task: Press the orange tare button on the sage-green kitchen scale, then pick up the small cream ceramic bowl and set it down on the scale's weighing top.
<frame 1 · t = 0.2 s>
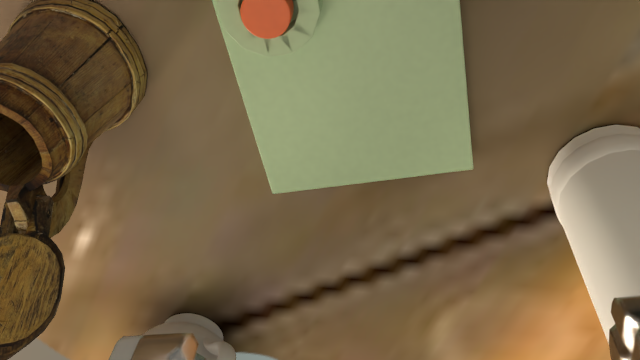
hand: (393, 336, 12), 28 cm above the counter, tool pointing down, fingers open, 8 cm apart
bottle: (603, 170, 42), on the counter
tare button: (267, 10, 33), point 4 cm above the counter, slide at 0.2 cm
scale: (350, 63, 38), on the counter
teacup: (202, 324, 55), on the counter
wooden mug: (93, 90, 41), on the counter
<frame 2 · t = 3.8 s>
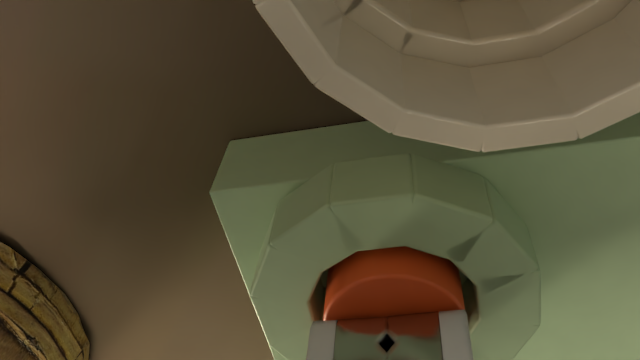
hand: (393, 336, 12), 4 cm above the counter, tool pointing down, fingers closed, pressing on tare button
tare button: (393, 302, 12), point 3 cm above the counter, slide at -0.4 cm, touching gripper
scale: (539, 341, 17), on the counter
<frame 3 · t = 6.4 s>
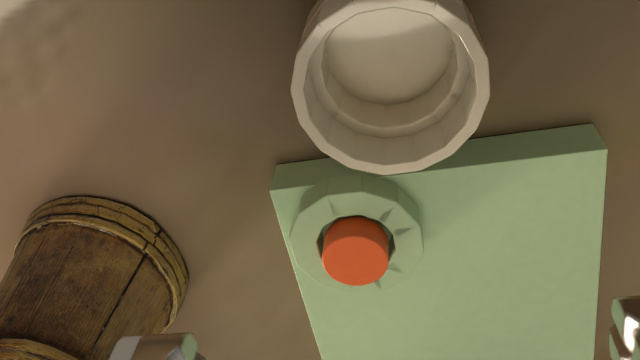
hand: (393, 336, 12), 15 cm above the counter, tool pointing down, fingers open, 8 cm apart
bowl: (388, 43, 24), on the counter
tare button: (355, 251, 25), point 4 cm above the counter, slide at 0.2 cm
scale: (443, 274, 31), on the counter
wooden mug: (121, 288, 34), on the counter
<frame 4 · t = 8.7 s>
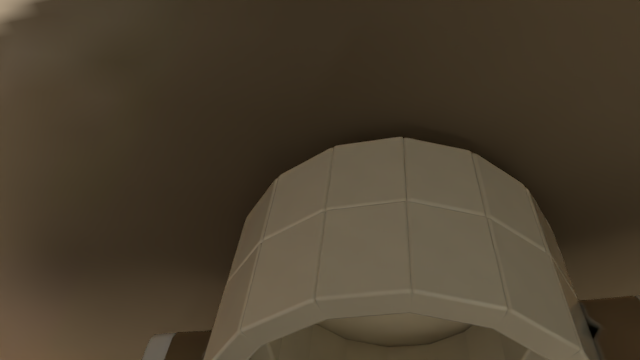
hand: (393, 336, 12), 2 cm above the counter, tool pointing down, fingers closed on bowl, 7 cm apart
bowl: (392, 254, 13), on the counter, touching gripper
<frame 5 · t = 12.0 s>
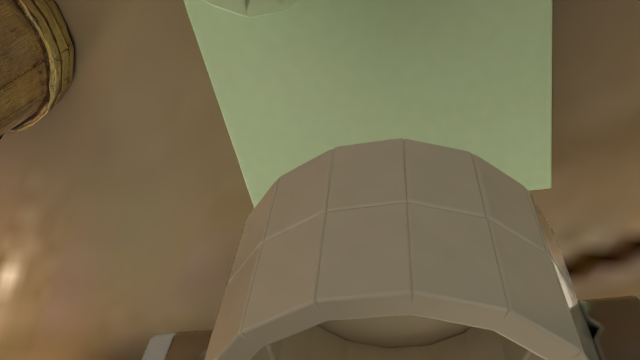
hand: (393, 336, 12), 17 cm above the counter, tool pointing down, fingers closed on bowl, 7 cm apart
bowl: (392, 255, 13), point 15 cm above the counter, touching gripper
scale: (372, 31, 26), on the counter
wooden mug: (0, 73, 29), on the counter
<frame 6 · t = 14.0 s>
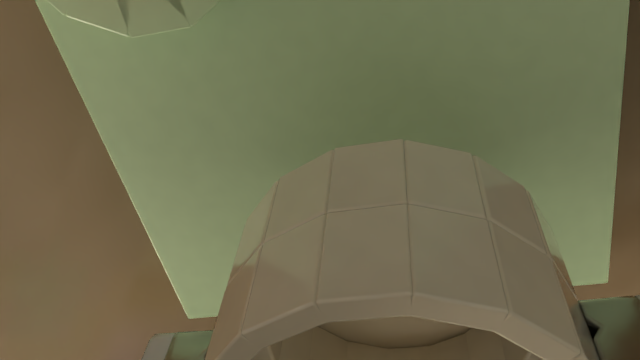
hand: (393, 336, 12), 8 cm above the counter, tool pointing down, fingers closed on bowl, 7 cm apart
bowl: (392, 256, 13), point 6 cm above the counter, touching gripper
scale: (342, 54, 17), on the counter
when the fingers open (4 cm above the counter, at t = 15.6 s): bowl stays where it is, resting on scale.
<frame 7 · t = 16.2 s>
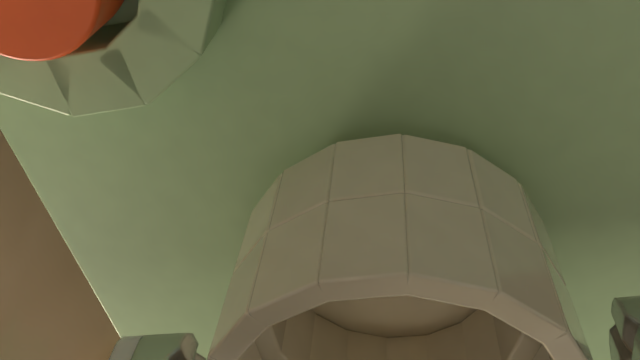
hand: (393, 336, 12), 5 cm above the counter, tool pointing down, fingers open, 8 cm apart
bowl: (391, 247, 14), point 2 cm above the counter, touching scale
scale: (335, 119, 15), on the counter
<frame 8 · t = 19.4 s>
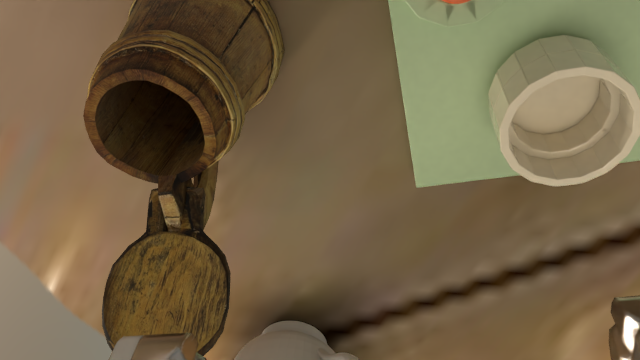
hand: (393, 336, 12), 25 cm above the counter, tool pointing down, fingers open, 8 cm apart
bowl: (549, 90, 33), point 2 cm above the counter, touching scale
scale: (521, 37, 34), on the counter
teacup: (304, 332, 50), on the counter
wooden mug: (217, 70, 37), on the counter
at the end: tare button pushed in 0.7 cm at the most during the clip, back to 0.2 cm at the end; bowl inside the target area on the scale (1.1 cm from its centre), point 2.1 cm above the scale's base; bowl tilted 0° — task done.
